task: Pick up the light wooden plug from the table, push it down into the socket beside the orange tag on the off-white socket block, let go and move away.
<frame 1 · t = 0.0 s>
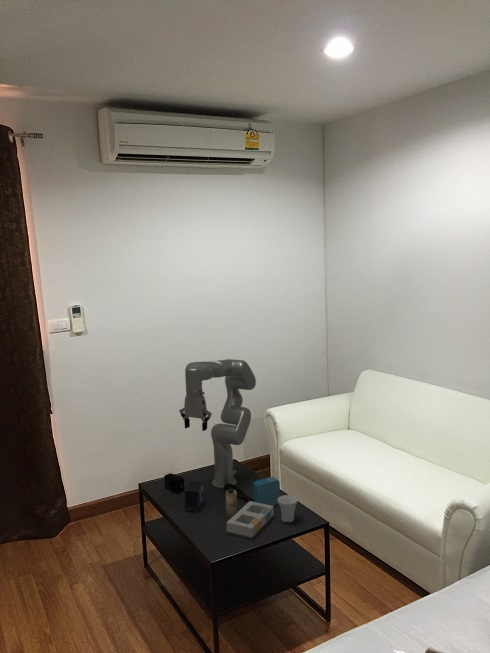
hand: (196, 428, 251), 37 cm above the table, tool pointing down, fingers open, 9 cm apart
small box: (194, 507, 252), on the table
hairbrush: (241, 498, 260), on the table, touching data package
data package: (266, 505, 252), on the table, touching hairbrush
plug: (231, 515, 243), on the table
cup: (287, 520, 236), on the table
digital camera: (173, 490, 271), on the table
socket block: (251, 524, 233), on the table
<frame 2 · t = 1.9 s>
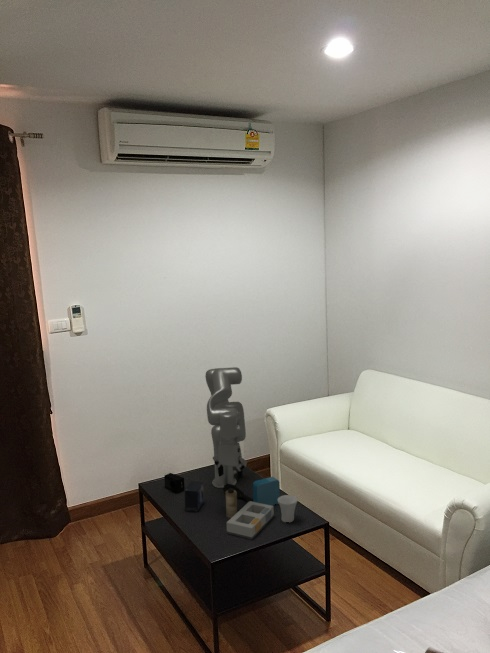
hand: (230, 477, 240), 18 cm above the table, tool pointing down, fingers open, 9 cm apart
hairbrush: (241, 499, 260), on the table
data package: (266, 505, 252), on the table
everything else where it was.
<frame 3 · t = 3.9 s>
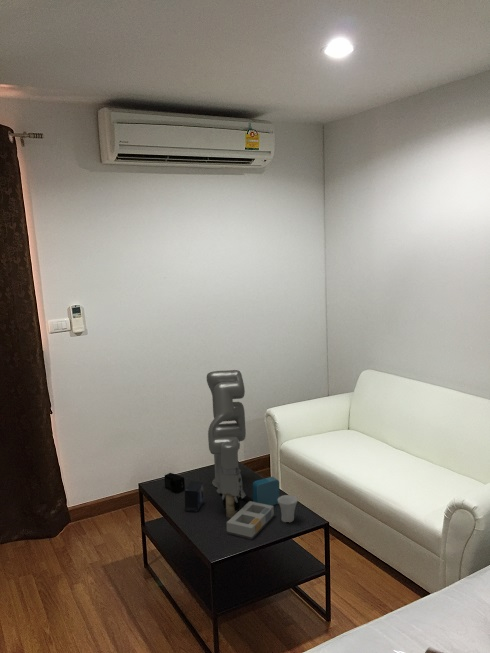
hand: (231, 507, 242), 3 cm above the table, tool pointing down, fingers closed on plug, 4 cm apart
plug: (231, 515, 243), on the table, touching gripper
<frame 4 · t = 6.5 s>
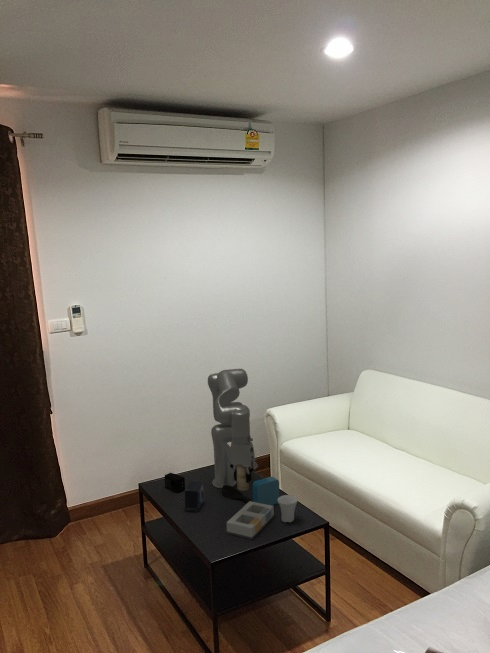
hand: (242, 480, 227), 22 cm above the table, tool pointing down, fingers closed on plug, 4 cm apart
hairbrush: (240, 500, 259), on the table, touching data package
data package: (266, 504, 252), on the table, touching hairbrush
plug: (243, 488, 227), point 19 cm above the table, touching gripper
everything else where it was.
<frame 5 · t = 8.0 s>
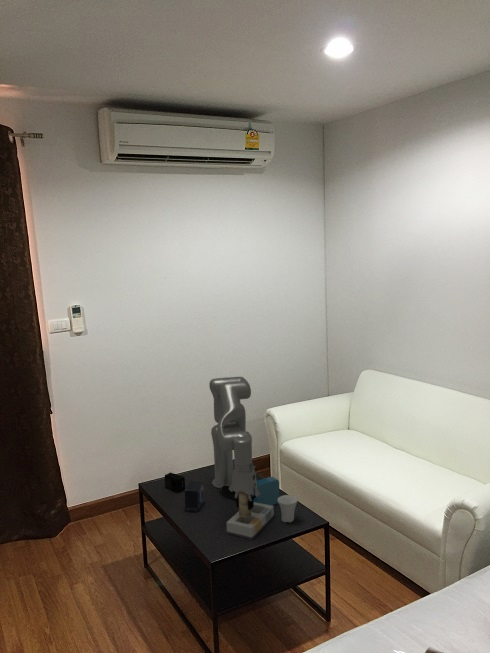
hand: (244, 507, 228), 10 cm above the table, tool pointing down, fingers closed on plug, 4 cm apart
hairbrush: (239, 500, 259), on the table
data package: (266, 504, 252), on the table
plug: (245, 514, 228), point 7 cm above the table, touching gripper
everything else where it was.
when the fingers open (6 cm above the table, at t = 9.3 s): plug drops 2 cm, resting on socket block.
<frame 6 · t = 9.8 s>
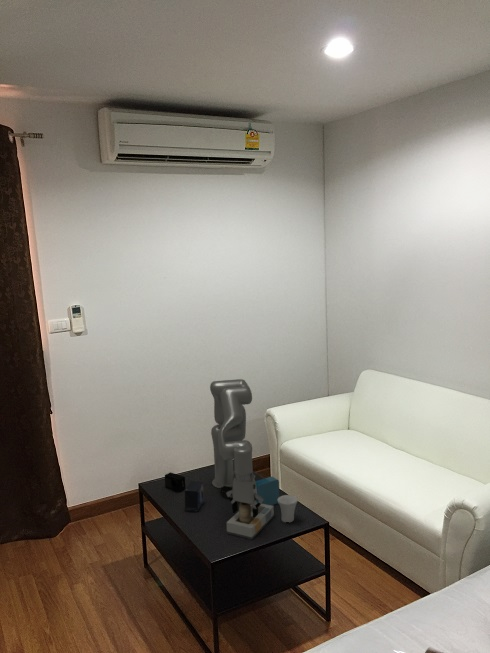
hand: (245, 514, 228), 7 cm above the table, tool pointing down, fingers open, 9 cm apart
hairbrush: (239, 500, 258), on the table, touching data package
data package: (266, 504, 252), on the table, touching hairbrush
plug: (245, 527, 229), point 1 cm above the table, touching socket block
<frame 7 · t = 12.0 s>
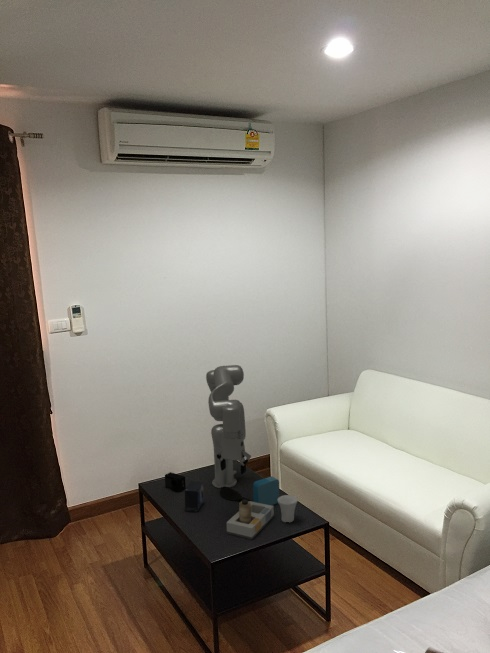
hand: (233, 471, 233), 24 cm above the table, tool pointing down, fingers open, 9 cm apart
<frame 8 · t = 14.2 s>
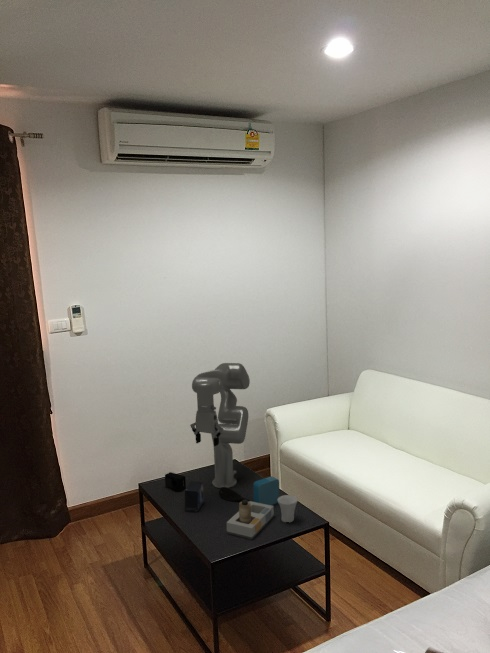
hand: (207, 443, 249), 30 cm above the table, tool pointing down, fingers open, 9 cm apart
hairbrush: (238, 501, 257), on the table
data package: (266, 504, 252), on the table
at the end: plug 0.0 cm from the target spot on the socket block, point 1.0 cm above the socket block's base; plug tilted 1°; the gripper is holding nothing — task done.
